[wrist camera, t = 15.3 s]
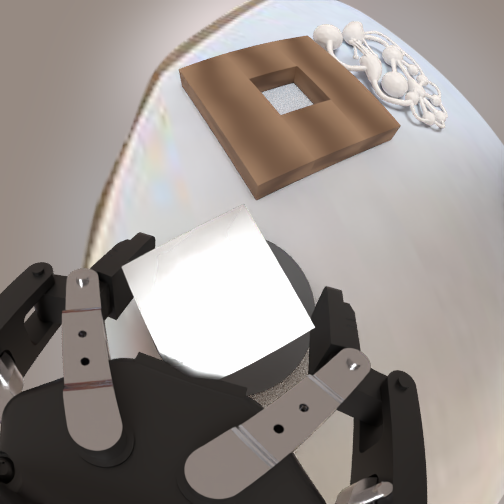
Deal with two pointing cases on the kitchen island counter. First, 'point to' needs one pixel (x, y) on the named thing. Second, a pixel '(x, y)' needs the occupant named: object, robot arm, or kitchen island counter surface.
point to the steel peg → (216, 297)
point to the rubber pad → (288, 356)
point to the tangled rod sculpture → (372, 66)
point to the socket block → (290, 124)
